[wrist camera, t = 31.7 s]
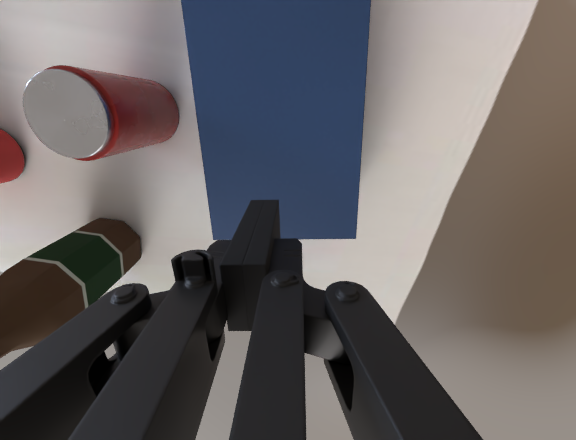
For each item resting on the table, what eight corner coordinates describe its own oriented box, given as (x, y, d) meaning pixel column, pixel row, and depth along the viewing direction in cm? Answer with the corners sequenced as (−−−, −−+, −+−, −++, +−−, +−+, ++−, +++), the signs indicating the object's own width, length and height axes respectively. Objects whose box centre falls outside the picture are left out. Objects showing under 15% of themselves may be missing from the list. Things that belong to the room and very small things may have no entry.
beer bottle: (154, 261, 38) (-48, 476, 16) (103, 272, 39) (-152, 488, 17) (128, 209, 36) (-158, 380, 13) (75, 222, 37) (-274, 402, 14)
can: (112, 80, 30) (2, 65, 19) (173, 78, 30) (97, 61, 19) (127, 144, 33) (37, 163, 21) (183, 142, 32) (122, 161, 21)
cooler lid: (354, 235, 27) (356, 238, 26) (215, 236, 28) (213, 240, 27) (372, -65, 19) (375, -72, 19) (177, -53, 20) (172, -60, 19)
